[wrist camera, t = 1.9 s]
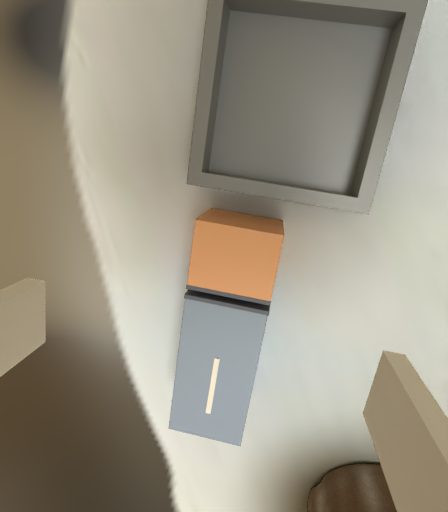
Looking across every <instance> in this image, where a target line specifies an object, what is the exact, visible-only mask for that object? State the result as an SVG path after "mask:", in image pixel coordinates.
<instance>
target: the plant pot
mask: <svg viewBox="0 0 448 512" xmlns="http://www.w3.org/2000/svg"><path fill="white" fill-rule="evenodd" d="M307 512H397V510H396V507H395V505H394V502H393V499H392V496H391V493H390V490H389V487H388V484H387V481H386V478H385V476H384V473H383V470H382V467H381V465H377V464H354V465H348V466H343V467H340V468H337V469H335V470H332V471H330V472H329V473H327V474H325V475H324V477H323V479H322V481H321V482H320V483H319V484H318V485H317V486H316V487H313V488H312V490H311V492H310V494H309V498H308V504H307Z"/></svg>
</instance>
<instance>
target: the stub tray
mask: <svg viewBox="0 0 448 512" xmlns="http://www.w3.org/2000/svg"><path fill="white" fill-rule="evenodd" d="M427 2H428V0H208V5H207V13H206V22H205V31H204V39H203V48H202V56H201V65H200V74H199V82H198V91H197V99H196V108H195V116H194V125H193V134H192V142H191V151H190V159H189V168H188V177H187V184H190V185H196V186H202V187H208V188H213V189H219V190H225V191H231V192H237V193H243V194H249V195H255V196H261V197H267V198H273V199H279V200H285V201H290V202H296V203H302V204H308V205H314V206H320V207H326V208H332V209H338V210H344V211H350V212H356V213H362V214H367V215H369V212H370V208H371V204H372V201H373V197H374V194H375V190H376V186H377V183H378V179H379V176H380V172H381V168H382V165H383V161H384V158H385V154H386V150H387V147H388V143H389V139H390V136H391V132H392V129H393V125H394V121H395V118H396V114H397V111H398V107H399V103H400V100H401V96H402V93H403V89H404V85H405V82H406V78H407V75H408V71H409V67H410V64H411V60H412V56H413V53H414V49H415V46H416V42H417V38H418V35H419V31H420V28H421V24H422V20H423V17H424V13H425V10H426V6H427Z"/></svg>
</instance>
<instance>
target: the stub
mask: <svg viewBox="0 0 448 512" xmlns="http://www.w3.org/2000/svg"><path fill="white" fill-rule="evenodd" d="M283 239H284V229H283V221H282V220H276V219H270V218H265V217H259V216H253V215H248V214H242V213H236V212H230V211H225V210H219V209H213V208H211V209H210V210H209V211H207V212H206V213H204V214H203V215H201V216H200V217H198V218H197V219H196V220H195V227H194V235H193V242H192V250H191V258H190V266H189V274H188V281H187V286H186V289H190V290H195V291H200V292H205V293H210V294H215V295H220V296H225V297H230V298H235V299H239V300H244V301H249V302H254V303H259V304H264V305H269V306H270V303H271V296H272V292H273V287H274V282H275V277H276V272H277V268H278V263H279V258H280V253H281V248H282V244H283Z"/></svg>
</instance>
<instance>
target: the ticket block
mask: <svg viewBox="0 0 448 512" xmlns="http://www.w3.org/2000/svg"><path fill="white" fill-rule="evenodd" d="M184 298H185V304H184V311H183V319H182V327H181V335H180V343H179V351H178V358H177V366H176V374H175V382H174V390H173V398H172V406H171V413H170V421H169V429H173V430H177V431H181V432H185V433H189V434H193V435H197V436H201V437H205V438H209V439H213V440H217V441H221V442H225V443H229V444H233V445H237V446H241V441H242V436H243V432H244V427H245V422H246V417H247V412H248V408H249V403H250V398H251V393H252V388H253V384H254V379H255V374H256V369H257V364H258V359H259V355H260V350H261V345H262V340H263V335H264V331H265V326H266V321H267V316H268V315H269V307H270V306H269V305H264V304H259V303H254V302H249V301H244V300H239V299H235V298H230V297H225V296H220V295H215V294H210V293H205V292H200V291H195V290H190V289H188V290H187V292H186V293H185V296H184Z"/></svg>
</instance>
